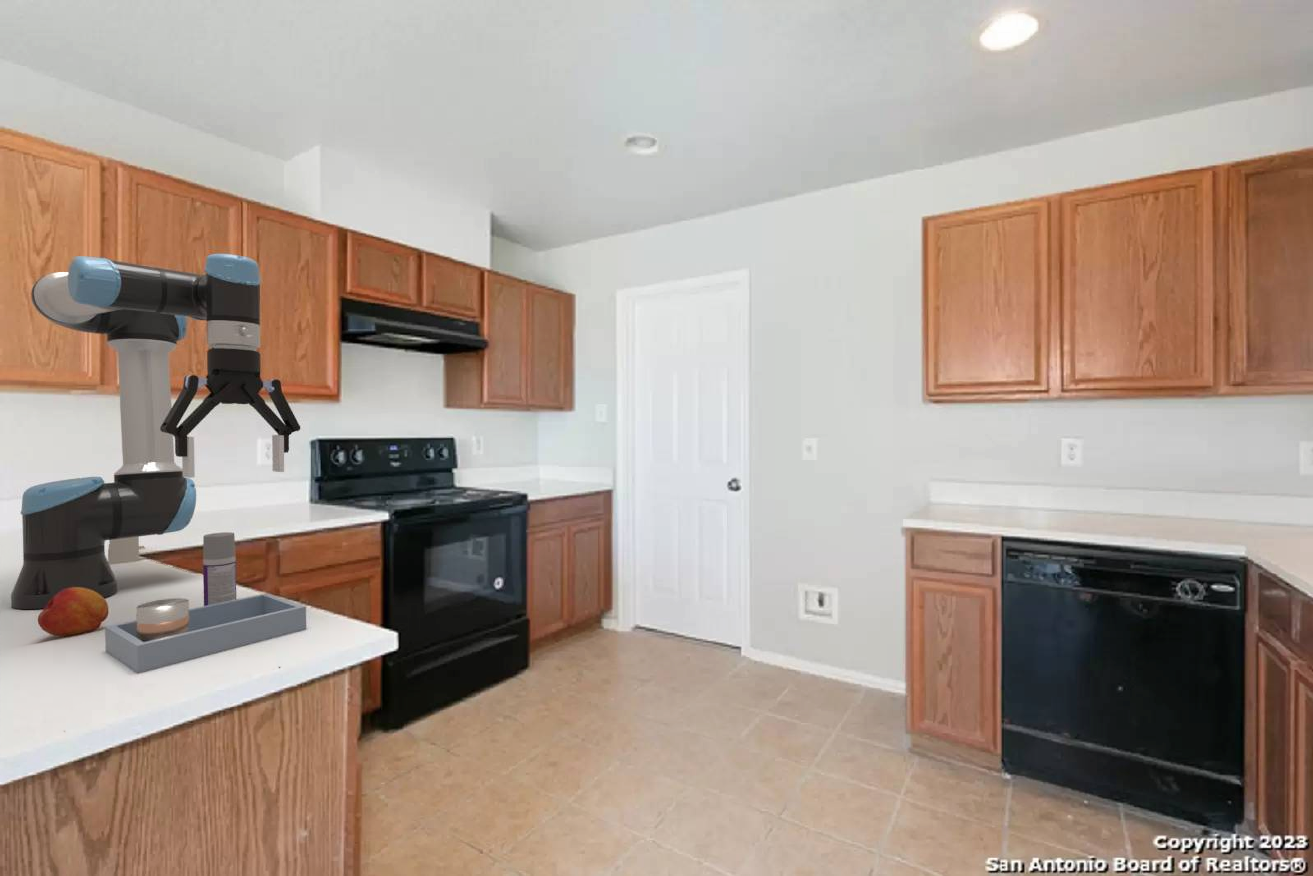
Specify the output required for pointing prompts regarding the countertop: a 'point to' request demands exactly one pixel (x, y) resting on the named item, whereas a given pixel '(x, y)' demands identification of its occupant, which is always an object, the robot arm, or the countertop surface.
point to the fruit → (73, 612)
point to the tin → (162, 619)
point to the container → (219, 568)
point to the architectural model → (124, 550)
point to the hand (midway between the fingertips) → (235, 474)
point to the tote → (208, 632)
